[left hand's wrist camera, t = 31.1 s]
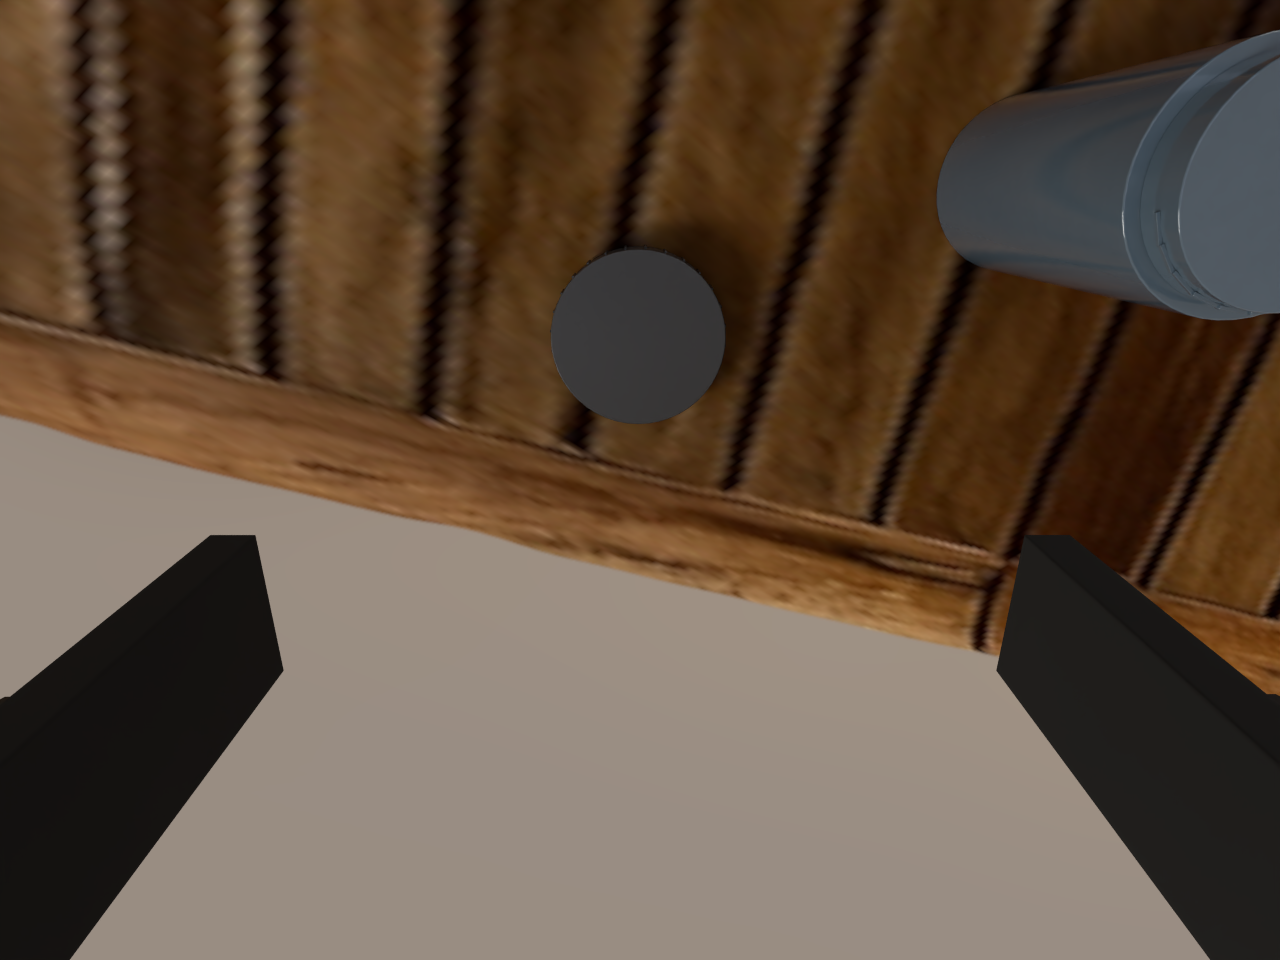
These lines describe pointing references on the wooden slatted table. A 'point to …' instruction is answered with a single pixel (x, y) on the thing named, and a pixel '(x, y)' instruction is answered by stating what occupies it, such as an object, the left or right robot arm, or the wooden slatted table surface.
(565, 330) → the lid
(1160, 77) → the jar
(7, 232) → the wooden slatted table surface
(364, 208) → the wooden slatted table surface
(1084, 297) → the wooden slatted table surface
